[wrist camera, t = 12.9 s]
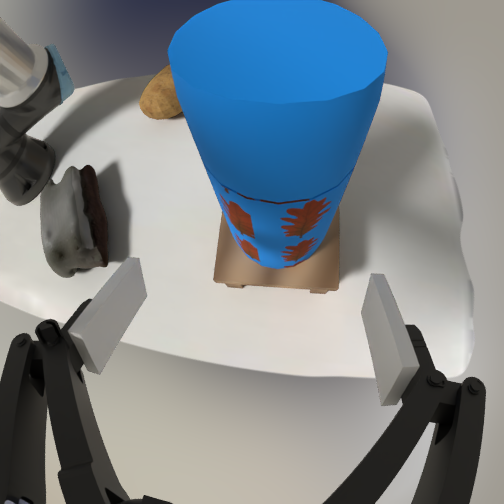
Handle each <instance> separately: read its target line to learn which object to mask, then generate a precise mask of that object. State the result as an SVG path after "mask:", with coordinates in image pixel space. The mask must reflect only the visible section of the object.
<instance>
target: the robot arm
mask: <svg viewBox="0 0 504 504" xmlns="http://www.w3.org/2000/svg"><path fill="white" fill-rule="evenodd" d="M73 92H74V84H73V82H72V80H71V78H70V76H69V74H68V72H67V70H66V67H65V66H64V63H63V61H62V59H61V57H60V55H59V53H58V51H57V48H56V46H55V45H54V44H51V45H49V46H46V47H45V48H43V47H42V46H40V45H37V44H29V45H27V44H26V43H25V42H24V41H23V40H22V39H21V38H20V37H19V36H18V35H17V34H16V33H15V32H14V31H13V30H12V29H11V28H10V27H9V26H8V25H7V24H6V22H5V21H4V20H3V19H2V18H1V17H0V190H1V191H2V193H3V194H4V196H5V197H6V199H7V200H8V201H10V202H11V203H13V204H14V205H17V206H21V205H24V204H27V203H28V202H30V201H31V200H32V199H34V198H35V197H36V196H37V195H38V194H39V192H40V191H41V190H42V189H43V187H44V186H45V184H46V183H47V181H48V179H49V177H50V175H51V173H52V170H53V167H54V163H55V153H54V150H53V149H52V148H51V147H50V146H49V145H48V144H47V143H46V142H44V141H41V140H39V139H36V138H33V137H31V136H28V135H26V134H25V133H26V132H27V131H28V130H29V129H31V128H32V127H33V126H34V125H35V124H36V123H37V122H39V121H40V120H41V119H42V118H43V117H44V116H46V115H47V114H48V113H49V112H51V111H52V110H53V109H55V108H56V107H57V106H58V105H61V104H62V103H63V101H64V100H66V99H67V98H68V97H69V96H70V95H72V93H73ZM146 297H147V293H146V288H145V284H144V279H143V274H142V270H141V265H140V260H139V258H134V257H128V258H127V259H126V260H125V261H124V262H123V264H122V265H121V266H120V267H119V268H118V269H117V270H116V272H115V273H114V274H113V275H112V276H111V278H110V279H109V280H108V281H107V282H106V284H105V285H104V286H103V287H102V288H101V290H100V291H99V292H98V293H97V295H96V296H95V297H94V298H93V299H88V300H86V301H85V302H83V303H82V304H81V305H80V306H79V307H78V309H77V311H75V312H74V314H73V316H71V317H70V319H69V320H68V321H67V323H66V324H65V325H64V327H63V328H62V329H60V327H59V325H58V323H57V321H55V320H52V319H49V320H45V321H43V322H41V323H40V324H39V325H38V326H37V327H36V330H35V333H36V335H37V337H38V339H39V341H33V340H32V339H31V337H30V335H29V334H27V333H22V334H19V335H17V336H16V337H15V338H14V339H13V340H12V342H11V345H10V348H9V352H8V355H7V358H6V362H5V366H4V370H3V373H2V377H1V381H0V504H46V484H45V437H46V419H47V407H48V409H49V415H50V421H51V426H52V431H53V435H54V440H55V445H56V449H57V453H58V457H59V461H60V465H61V470H60V471H59V472H58V479H59V483H60V486H61V489H62V493H63V495H64V499H65V502H66V504H172V503H170V502H167V501H163V500H159V499H156V498H153V497H149V496H146V495H144V496H143V499H132V500H130V498H129V496H128V495H127V493H126V492H125V490H124V489H123V488H122V486H121V484H120V483H119V480H118V478H117V476H116V474H115V471H114V469H113V466H112V464H111V461H110V459H109V456H108V453H107V451H106V449H105V446H104V443H103V440H102V437H101V434H100V431H99V428H98V425H97V422H96V419H95V416H94V413H93V409H92V406H91V402H90V399H89V395H88V391H87V387H86V384H85V380H84V375H83V373H82V371H81V367H82V365H83V364H84V365H85V366H86V368H87V370H88V371H90V372H93V373H96V374H101V372H102V370H103V369H104V367H105V365H106V363H107V361H108V360H109V358H110V356H111V355H112V353H113V351H114V349H115V348H116V346H117V344H118V343H119V341H120V339H121V338H122V336H123V334H124V333H125V331H126V329H127V328H128V326H129V324H130V323H131V321H132V319H133V318H134V316H135V315H136V313H137V311H138V310H139V308H140V307H141V305H142V303H143V302H144V300H145V299H146ZM361 314H362V318H363V322H364V327H365V331H366V335H367V339H368V343H369V348H370V352H371V357H372V361H373V366H374V371H375V376H376V381H377V385H378V391H379V397H380V402H381V406H388V405H397V403H398V402H399V400H400V398H401V399H402V403H403V405H402V407H401V408H400V410H399V411H398V413H397V414H396V416H395V417H394V419H393V420H392V422H391V423H390V425H389V426H388V427H387V429H386V430H385V431H384V433H383V434H382V436H381V437H380V438H379V440H378V441H377V442H376V443H375V445H374V446H373V447H372V449H371V450H370V451H369V452H368V454H367V455H366V456H365V457H364V459H363V460H362V461H361V462H360V463H359V465H358V466H357V467H356V468H355V469H354V470H353V472H352V473H351V474H350V475H349V476H348V477H347V478H346V480H345V481H344V482H343V483H342V484H341V485H340V486H339V487H338V488H337V489H336V490H335V492H333V493H332V495H331V496H330V497H329V498H328V499H327V500H326V501H325V502H324V503H323V504H375V502H376V501H377V500H378V499H379V498H380V496H381V495H382V494H383V492H384V491H385V490H386V489H387V487H388V486H389V485H390V483H391V482H392V480H393V479H394V478H395V476H396V475H397V473H398V472H399V470H400V469H401V467H402V466H403V465H404V463H405V461H406V460H407V458H408V457H409V455H410V454H411V452H412V450H413V449H414V447H415V446H416V444H417V442H418V441H419V439H420V437H421V436H422V434H423V432H424V430H425V429H426V426H427V425H428V423H429V422H433V423H436V425H435V429H434V433H433V437H432V441H431V445H430V449H429V452H428V456H427V459H426V463H425V466H424V469H423V472H422V475H421V478H420V481H419V484H418V487H417V490H416V492H415V495H414V498H413V500H412V503H411V504H469V503H470V498H471V495H472V491H473V486H474V481H475V477H476V473H477V467H478V462H479V456H480V449H481V442H482V434H483V425H484V414H485V399H486V398H485V397H486V389H485V386H484V384H483V383H482V382H481V381H480V380H479V379H477V378H475V377H468V378H466V379H465V380H464V381H463V383H462V384H461V383H456V382H451V381H448V380H447V378H446V377H445V375H444V374H443V373H441V372H440V371H438V370H436V369H435V366H434V364H433V361H432V358H431V356H430V353H429V351H428V348H427V347H426V343H425V341H424V338H423V336H422V333H421V331H420V330H419V329H418V328H417V327H416V326H415V325H405V324H404V321H403V319H402V316H401V314H400V311H399V309H398V306H397V304H396V301H395V299H394V296H393V294H392V292H391V289H390V287H389V285H388V282H387V280H386V278H385V275H384V274H372V273H371V276H370V280H369V284H368V288H367V292H366V296H365V300H364V303H363V307H362V311H361Z"/></svg>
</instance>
